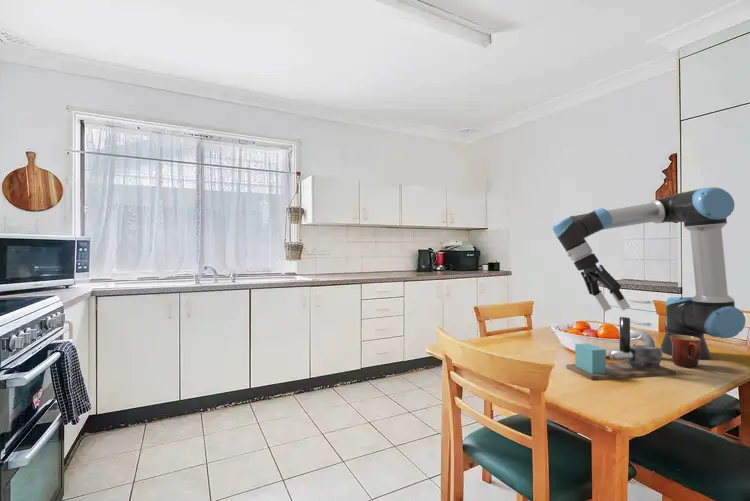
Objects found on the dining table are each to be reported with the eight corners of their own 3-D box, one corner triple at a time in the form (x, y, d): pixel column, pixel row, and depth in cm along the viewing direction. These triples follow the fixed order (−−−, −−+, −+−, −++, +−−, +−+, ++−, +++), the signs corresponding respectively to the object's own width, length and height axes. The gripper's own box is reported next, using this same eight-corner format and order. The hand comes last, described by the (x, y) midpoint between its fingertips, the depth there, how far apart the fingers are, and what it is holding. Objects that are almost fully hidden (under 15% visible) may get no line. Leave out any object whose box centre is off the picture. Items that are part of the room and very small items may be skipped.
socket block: (588, 365, 130) (588, 343, 129) (605, 373, 122) (605, 349, 122) (575, 366, 129) (575, 344, 129) (592, 373, 121) (592, 350, 121)
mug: (664, 361, 138) (664, 334, 138) (691, 362, 137) (691, 335, 136) (684, 371, 127) (684, 342, 126) (713, 373, 125) (714, 343, 125)
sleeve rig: (644, 363, 136) (644, 342, 135) (675, 374, 124) (675, 351, 124) (566, 368, 130) (566, 345, 130) (591, 380, 119) (591, 355, 118)
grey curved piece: (656, 358, 142) (656, 332, 142) (653, 360, 139) (653, 333, 139) (625, 352, 149) (626, 328, 149) (623, 354, 147) (623, 329, 147)
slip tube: (654, 356, 131) (654, 315, 131) (661, 358, 128) (662, 317, 128) (608, 358, 128) (608, 317, 128) (615, 361, 125) (615, 319, 125)
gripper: (562, 266, 147) (592, 314, 142) (587, 255, 123) (624, 313, 118) (579, 258, 147) (610, 306, 142) (607, 245, 123) (645, 303, 118)
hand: (616, 309), depth 130 cm, fingers open, 13 cm apart
